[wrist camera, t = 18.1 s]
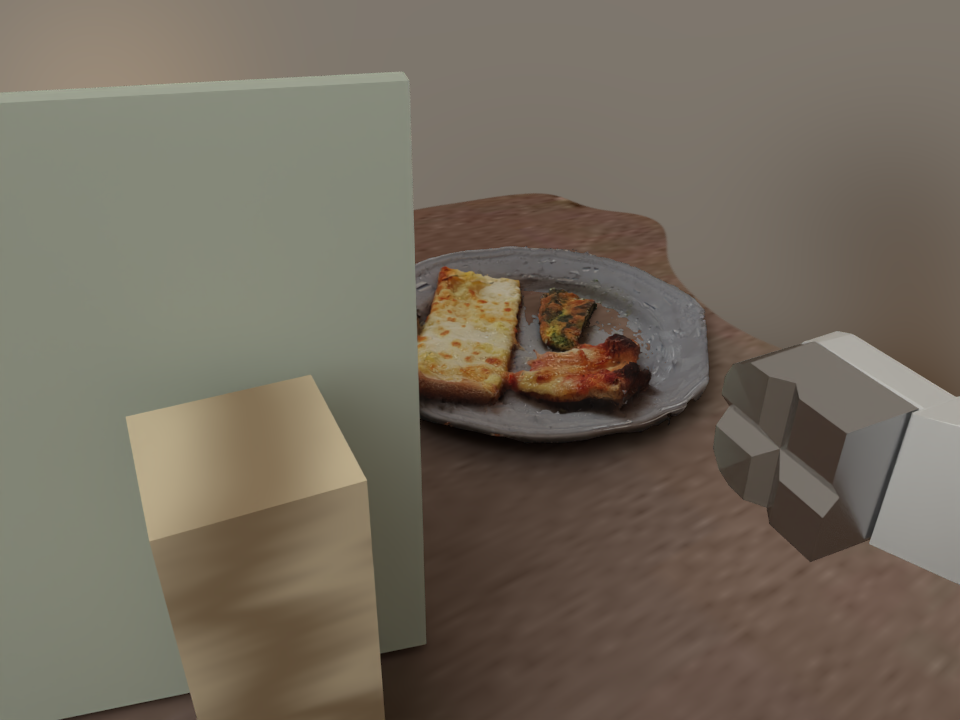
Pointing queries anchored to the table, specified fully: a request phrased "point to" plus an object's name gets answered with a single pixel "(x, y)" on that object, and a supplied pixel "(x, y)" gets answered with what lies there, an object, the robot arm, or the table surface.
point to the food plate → (552, 345)
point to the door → (189, 342)
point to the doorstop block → (263, 553)
